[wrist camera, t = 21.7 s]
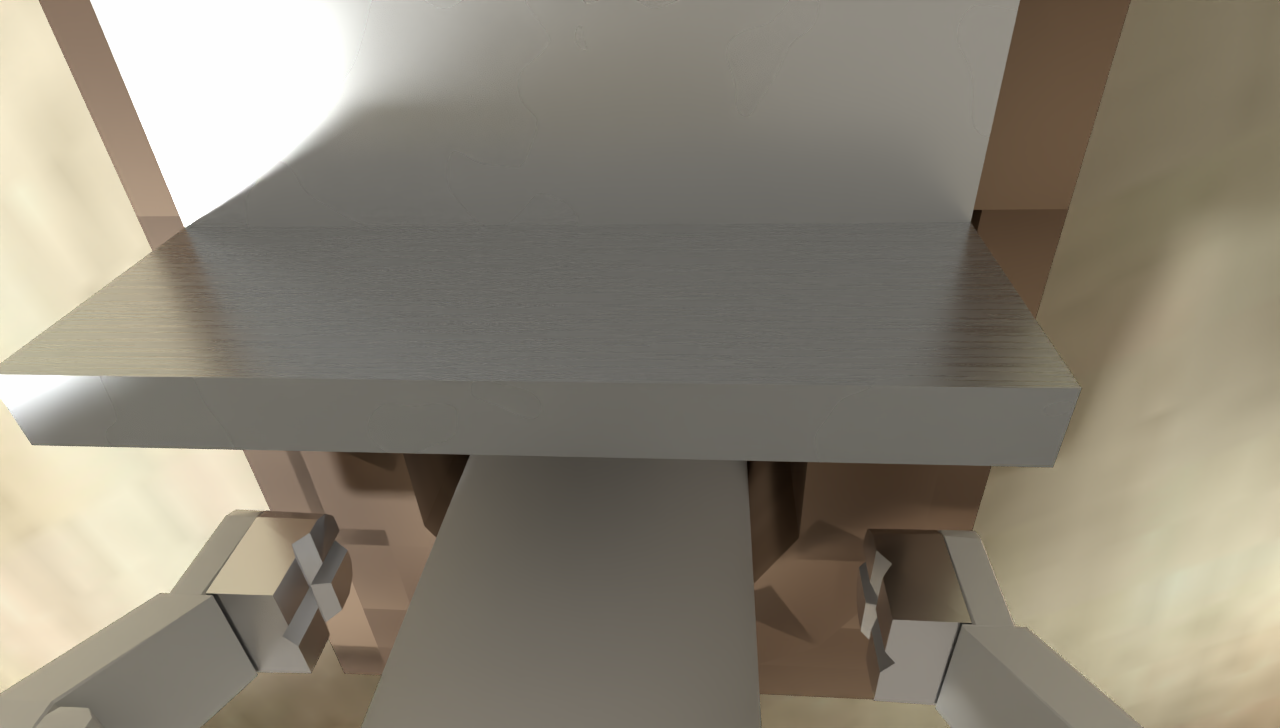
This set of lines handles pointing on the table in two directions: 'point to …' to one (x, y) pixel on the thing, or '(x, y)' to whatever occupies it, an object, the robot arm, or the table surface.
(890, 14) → the panel
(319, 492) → the socket block
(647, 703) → the beverage can
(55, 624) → the table surface
